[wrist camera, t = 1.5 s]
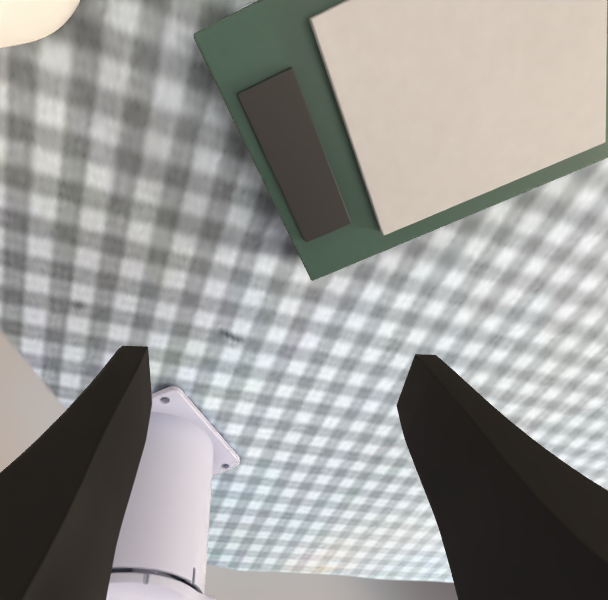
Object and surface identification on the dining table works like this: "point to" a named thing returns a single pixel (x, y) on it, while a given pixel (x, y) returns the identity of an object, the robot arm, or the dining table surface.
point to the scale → (408, 109)
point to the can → (32, 19)
